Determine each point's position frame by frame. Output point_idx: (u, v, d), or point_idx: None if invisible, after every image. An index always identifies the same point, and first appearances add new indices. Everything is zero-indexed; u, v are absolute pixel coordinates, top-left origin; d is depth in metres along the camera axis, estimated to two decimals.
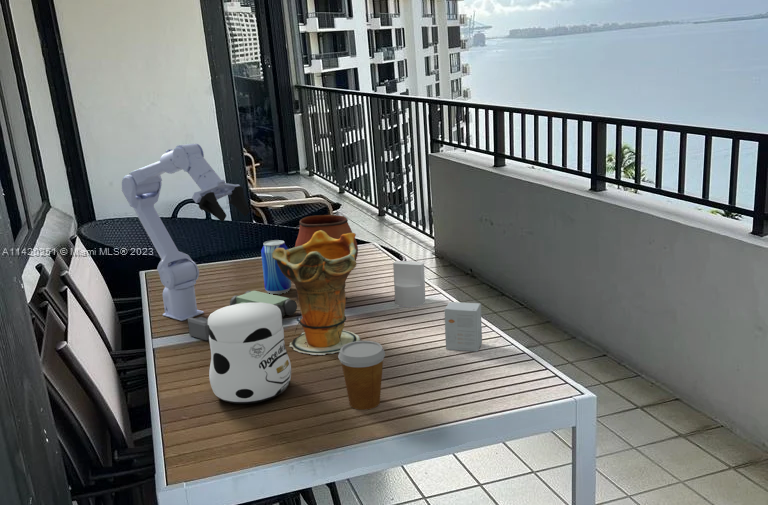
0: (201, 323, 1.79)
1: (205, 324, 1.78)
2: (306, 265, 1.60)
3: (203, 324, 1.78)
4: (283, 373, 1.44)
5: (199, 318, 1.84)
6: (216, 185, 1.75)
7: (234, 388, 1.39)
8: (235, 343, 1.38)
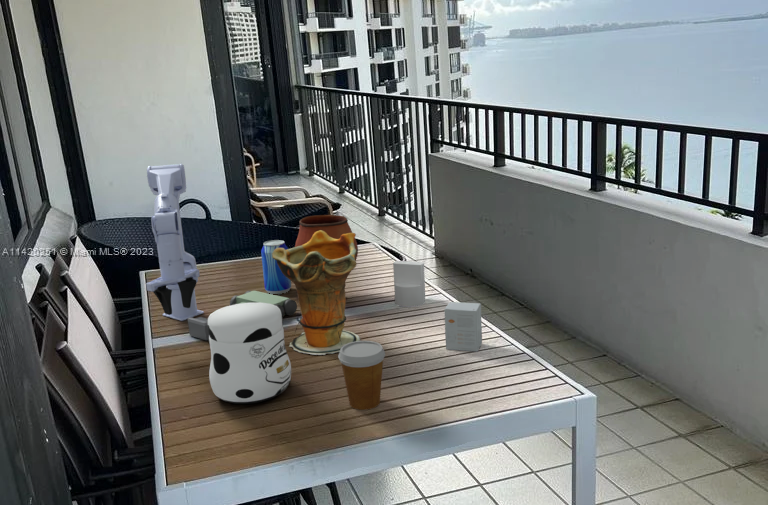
0: (201, 323, 1.79)
1: (205, 324, 1.78)
2: (306, 265, 1.60)
3: (203, 324, 1.78)
4: (283, 373, 1.44)
5: (199, 318, 1.84)
6: (175, 280, 1.70)
7: (234, 389, 1.39)
8: (235, 343, 1.38)
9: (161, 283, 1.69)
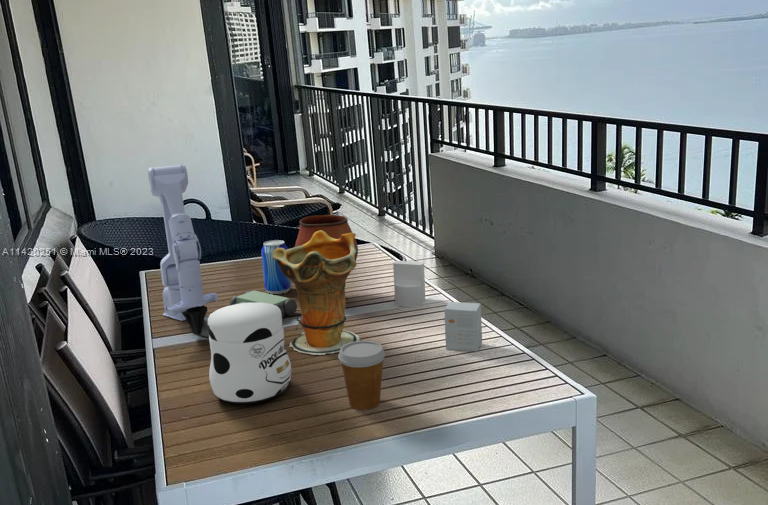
0: (206, 321, 1.80)
1: None
2: (306, 265, 1.60)
3: None
4: (283, 373, 1.44)
5: None
6: (195, 305, 1.76)
7: (234, 389, 1.39)
8: (235, 343, 1.38)
9: (182, 308, 1.74)
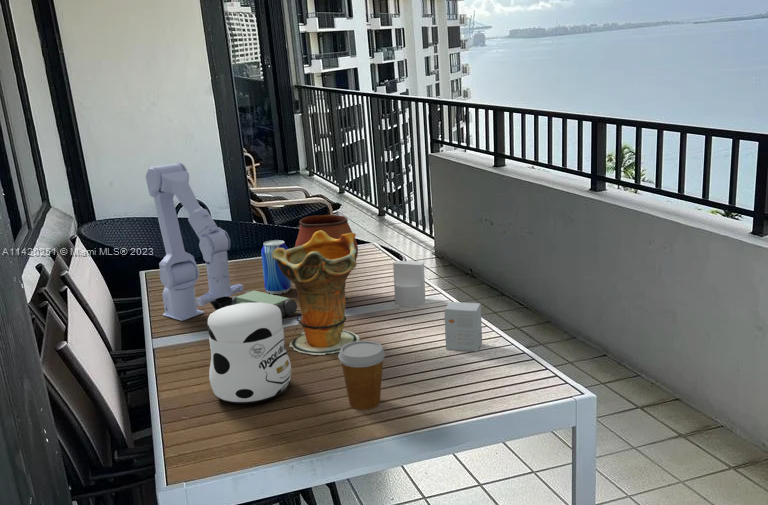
0: None
1: None
2: (306, 265, 1.60)
3: None
4: (283, 373, 1.44)
5: None
6: (222, 296, 1.83)
7: (234, 389, 1.39)
8: (235, 343, 1.38)
9: (210, 298, 1.81)
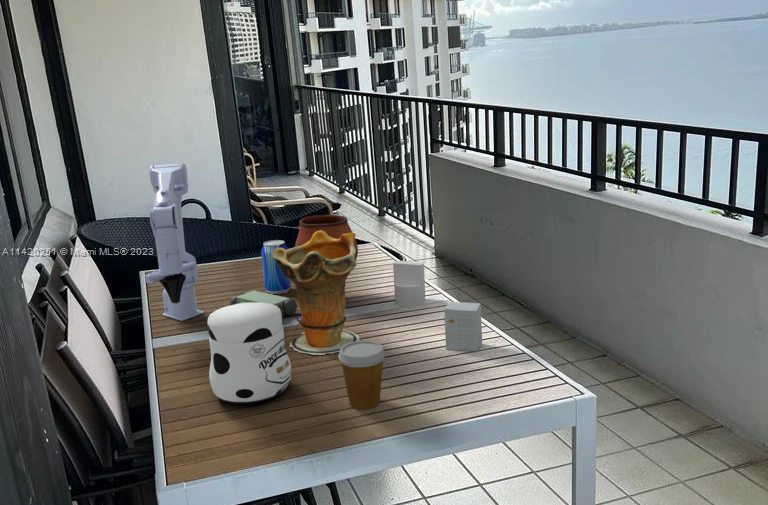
0: None
1: None
2: (306, 265, 1.60)
3: None
4: (283, 373, 1.44)
5: None
6: (173, 273, 1.76)
7: (234, 389, 1.39)
8: (235, 343, 1.38)
9: (159, 275, 1.74)
